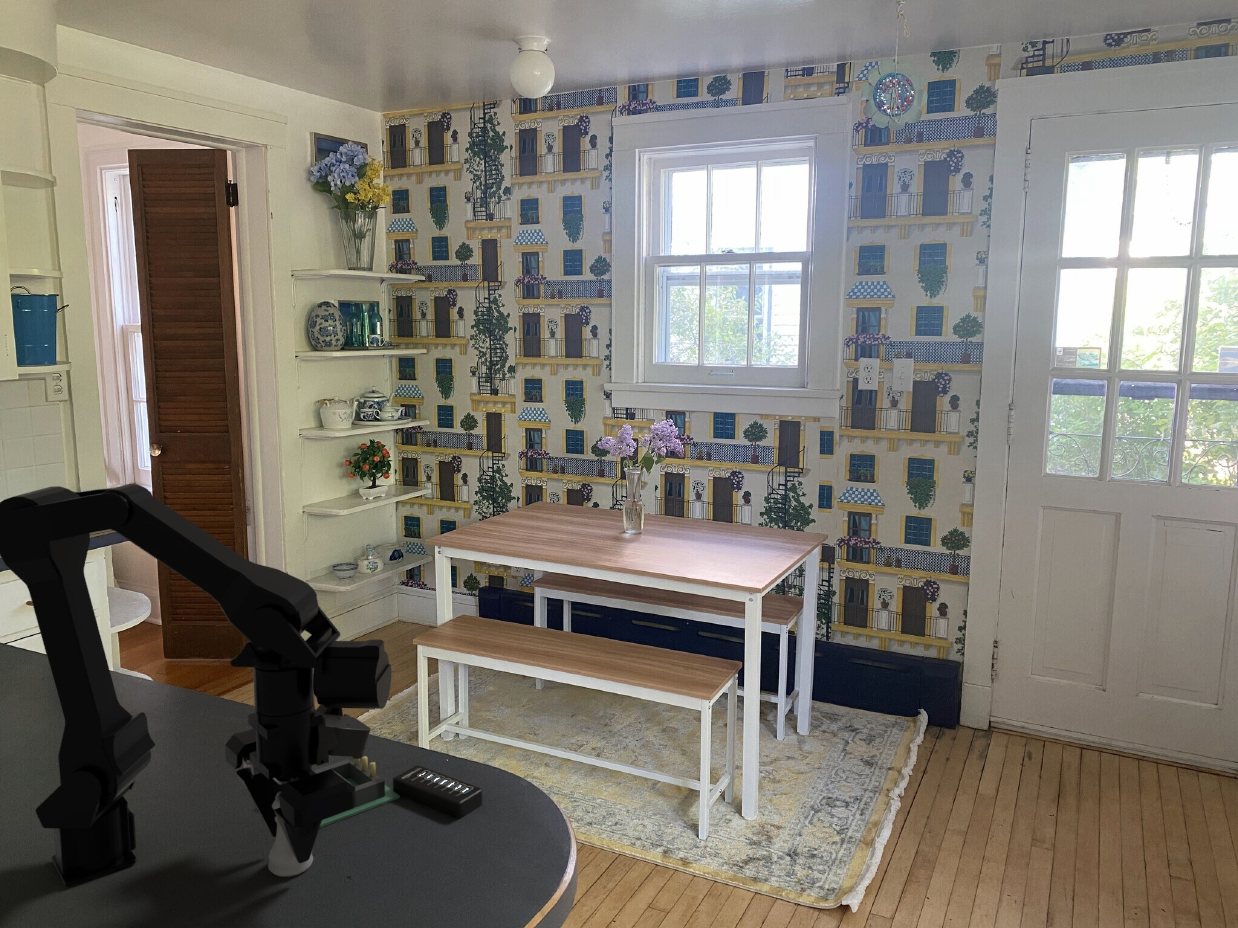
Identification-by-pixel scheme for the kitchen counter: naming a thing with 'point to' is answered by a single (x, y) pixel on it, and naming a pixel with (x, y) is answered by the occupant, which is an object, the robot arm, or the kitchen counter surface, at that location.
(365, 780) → the header socket
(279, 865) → the rook chess piece
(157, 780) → the kitchen counter surface
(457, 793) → the multiport hub
